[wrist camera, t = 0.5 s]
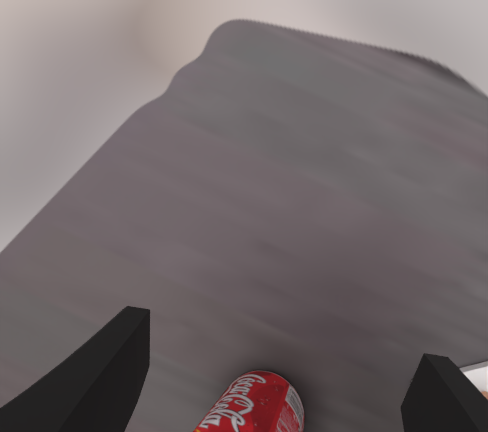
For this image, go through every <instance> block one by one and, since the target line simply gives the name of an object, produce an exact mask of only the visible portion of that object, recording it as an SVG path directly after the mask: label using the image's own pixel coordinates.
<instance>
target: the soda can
mask: <svg viewBox="0 0 488 432" xmlns="http://www.w3.org/2000/svg"><path fill="white" fill-rule="evenodd" d="M303 429H304V410H303V405H302V402H301V399H300V397H299V395H298V393H297V392H296V390H295V389H294V388H293V386H292V385H291V384H290V383H289V382H288V381H287V380H285V379H284V378H283V377H281V376H279V375H277V374H275V373H272V372H268V371H252V372H248V373H245V374H243V375H241V376H240V377H238V378H237V379H236V380H235V381H233V383H232V384H231V385H230V386H229V387H228V388H227V390H226V391H225V392H224V393H223V395H222V396H221V397H220V398H219V399H218V401H217V402H216V403H215V404H214V406H213V407H212V408H211V409H210V411H209V412H208V413H207V414H206V416H205V417H204V418H203V419H202V421H201V422H200V423H199V424H198V426H197V427H196V428H195V430H194V431H193V432H303Z"/></svg>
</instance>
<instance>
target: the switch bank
mask: <svg viewBox="0 0 488 432" xmlns="http://www.w3.org/2000/svg"><path fill="white" fill-rule="evenodd" d="M459 369H460V370H461V371H462V372H463V373H464V374H465V376H466V377H467V378H468V379H469V380H470V381H471V382H472V383H473V384H474V385H475V386H476V387H477V389H478V390H479V391H480V392H484V391H486V392H488V361H486V362H482V363H478V364H474V365H470V366H466V367H462V368H459ZM411 382H412V380H411Z"/></svg>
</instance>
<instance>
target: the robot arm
mask: <svg viewBox="0 0 488 432" xmlns="http://www.w3.org/2000/svg"><path fill="white" fill-rule="evenodd" d="M149 360H150V310H149V309H143V308H137V307H130V306H127V307H126V308H124V309H123V310H122V311H121V312H119V313H118V314H117V315H116V316H115V317H114V318H113V319H112V320H111V321H110V322H108V323H107V324H106V325H105V326H104V327H103V328H102V329H101V330H99V331H98V332H97V333H96V334H95V335H94V336H93V337H91V338H90V339H89V340H88V341H87V342H86V343H85V344H83V345H82V346H81V347H80V348H79V349H77V350H76V351H75V352H74V353H73V354H71V355H70V356H69V357H68V358H67V359H65V360H64V361H63V362H62V363H60V364H59V365H58V366H57V367H55V368H54V369H53V370H51V371H50V372H49V373H48V374H46V375H45V376H44V377H42V378H41V379H40V380H38V381H37V382H36V383H34V384H33V385H32V386H31V387H29V388H28V389H27V390H25V391H24V392H22V393H21V394H20V395H18V396H17V397H15V398H14V399H13V400H11V401H10V402H8V403H7V404H5V405H4V406H3V407H1V408H0V432H124V431H125V429H126V427H127V424H128V422H129V420H130V418H131V416H132V413H133V411H134V409H135V407H136V404H137V402H138V399H139V396H140V393H141V390H142V387H143V384H144V381H145V378H146V375H147V372H148V369H149ZM401 413H402V419H403V425H404V431H405V432H488V399H487V398H486V397H485V396H484V395H483V394H482V393H481V392H480V391H479V390H478V389H477V387H476V386H475V385H474V384H473V383H472V382H471V381H470V380H469V379H468V378H467V377H466V376H465V374H464V373H463V372H462V371H461V370H460V369H459V368H458V367H457V366H456V365H455V364H454V363H453V362H452V361H451V360H450V359H449V358H448V357H443V356H437V355H431V354H423V357H422V359H421V361H420V364H419V366H418V368H417V371H416V373H415V375H414V377H413V380H412V382H411V384H410V387H409V389H408V391H407V394H406V396H405V398H404V401H403V403H402V405H401Z"/></svg>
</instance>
